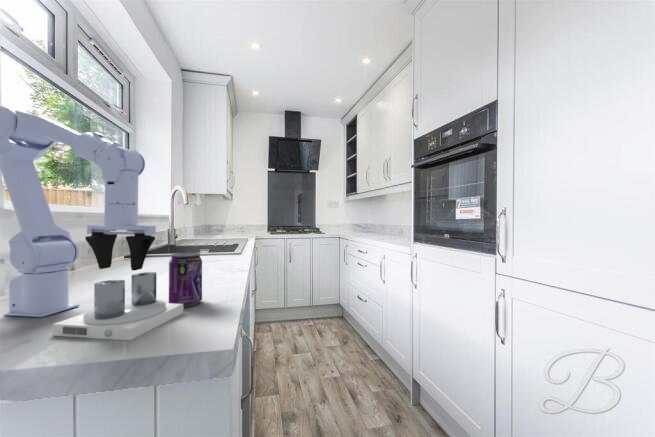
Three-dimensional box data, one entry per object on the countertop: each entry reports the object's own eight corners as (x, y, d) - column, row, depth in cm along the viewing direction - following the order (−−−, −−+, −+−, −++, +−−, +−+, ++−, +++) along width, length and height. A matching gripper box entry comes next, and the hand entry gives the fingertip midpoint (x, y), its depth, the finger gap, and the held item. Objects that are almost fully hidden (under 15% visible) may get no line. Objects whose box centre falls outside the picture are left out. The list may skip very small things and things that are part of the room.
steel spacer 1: (87, 319, 50) (87, 284, 50) (109, 310, 54) (110, 279, 54) (109, 320, 49) (109, 285, 49) (130, 312, 54) (130, 279, 54)
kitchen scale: (50, 336, 49) (50, 320, 49) (121, 309, 64) (121, 297, 64) (128, 341, 47) (128, 324, 47) (183, 313, 62) (183, 300, 62)
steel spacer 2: (126, 305, 58) (126, 275, 58) (140, 299, 62) (140, 271, 62) (147, 305, 58) (147, 275, 58) (160, 299, 62) (160, 271, 62)
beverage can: (188, 309, 64) (188, 256, 64) (161, 307, 65) (161, 255, 65) (208, 300, 71) (208, 252, 71) (183, 299, 72) (183, 251, 72)
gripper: (166, 205, 63) (165, 266, 63) (108, 205, 65) (107, 264, 65) (141, 204, 56) (140, 272, 56) (77, 203, 58) (76, 270, 58)
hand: (120, 268), depth 60 cm, fingers open, 7 cm apart
